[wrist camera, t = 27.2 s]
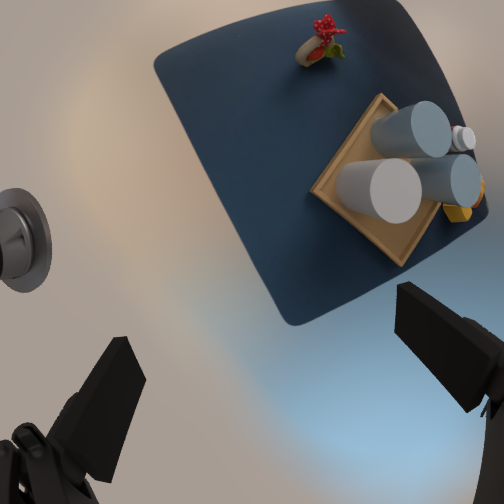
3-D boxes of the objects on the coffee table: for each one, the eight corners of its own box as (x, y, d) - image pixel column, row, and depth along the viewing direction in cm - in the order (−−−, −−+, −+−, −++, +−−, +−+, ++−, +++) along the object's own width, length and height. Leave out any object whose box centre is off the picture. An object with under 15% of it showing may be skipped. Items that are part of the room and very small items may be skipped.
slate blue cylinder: (397, 168, 41) (441, 169, 29) (362, 141, 39) (402, 131, 28) (413, 134, 39) (457, 127, 28) (381, 105, 38) (421, 89, 26)
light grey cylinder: (349, 220, 43) (386, 235, 31) (326, 176, 41) (359, 176, 29) (386, 196, 42) (429, 204, 30) (365, 153, 40) (406, 148, 28)
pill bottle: (438, 123, 39) (466, 119, 31) (451, 141, 40) (479, 139, 32) (429, 138, 40) (458, 135, 32) (442, 156, 41) (471, 156, 33)
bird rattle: (315, 81, 39) (353, 52, 34) (312, 74, 30) (361, 37, 25) (289, 56, 38) (327, 27, 33) (279, 43, 28) (327, 7, 24)
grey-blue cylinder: (424, 208, 43) (468, 218, 31) (399, 179, 41) (443, 183, 30) (442, 176, 42) (486, 179, 30) (418, 147, 40) (462, 143, 28)
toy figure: (465, 166, 42) (440, 205, 44) (483, 167, 37) (459, 209, 38) (476, 186, 43) (451, 224, 45) (493, 188, 38) (469, 229, 39)
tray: (395, 263, 46) (401, 267, 44) (309, 191, 42) (312, 191, 40) (449, 175, 42) (455, 175, 40) (375, 95, 38) (381, 92, 36)
